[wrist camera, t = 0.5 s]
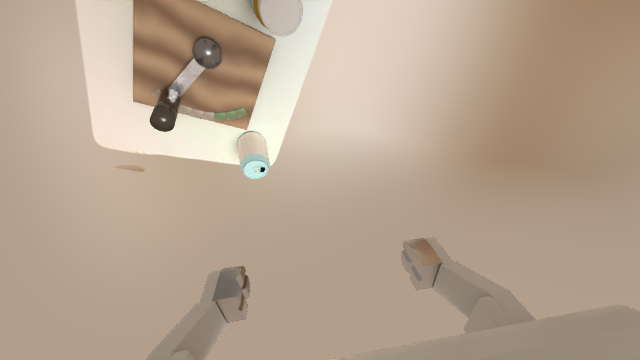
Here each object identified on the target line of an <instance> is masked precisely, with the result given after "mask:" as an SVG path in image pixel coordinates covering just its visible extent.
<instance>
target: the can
mask: <svg viewBox="0 0 640 360" xmlns="http://www.w3.org/2000/svg"><path fill="white" fill-rule="evenodd" d="M238 147H239V159H240V168H241V170H242V171H243V173H244V174H245V175H246V176H247V177H249V178H252V179H258V178H261V177H263V176H265V175H266V174H267V172H268V169H269V167H270V162H269V158H268V153H267V149H266V144H265V140H264V138H263V137H262V136H261V135H260V134H258V133H255V132H248V133H245V134H243V135H242V136H241V137H240V138H239V141H238Z"/></svg>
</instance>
